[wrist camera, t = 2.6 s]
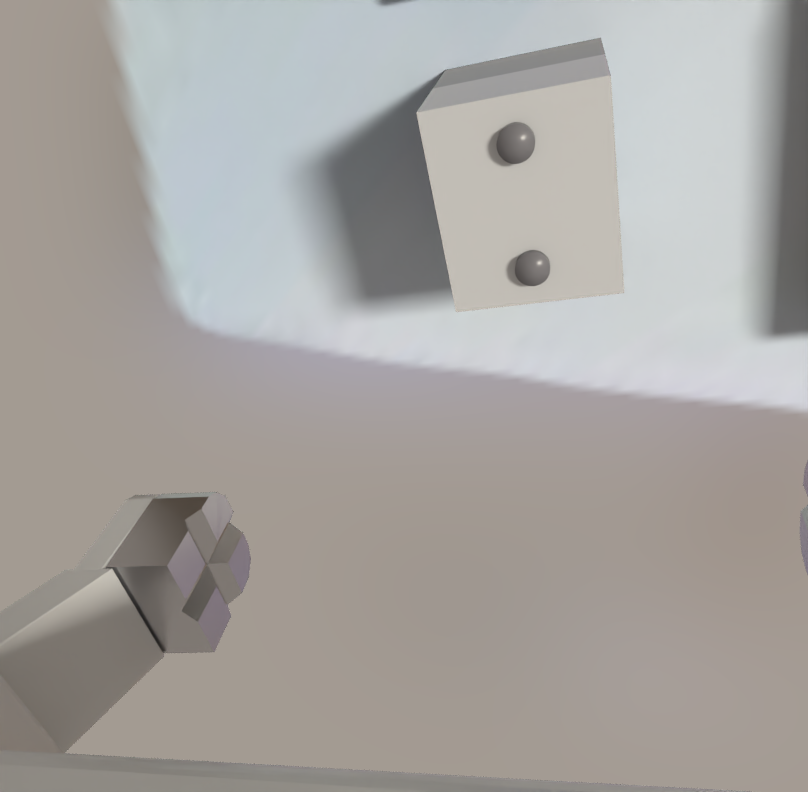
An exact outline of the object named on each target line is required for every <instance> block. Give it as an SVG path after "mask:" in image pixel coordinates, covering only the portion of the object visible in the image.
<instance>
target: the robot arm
mask: <svg viewBox="0 0 808 792" xmlns="http://www.w3.org/2000/svg"><path fill="white" fill-rule="evenodd" d="M803 486H804V488H805V490H806V493H807V495H808V462H807V464H806V467H805V472H804V481H803ZM232 514H233V510H232V508H231V506H230V504H229V502H228V500H227V498H226V496H225V495H222V494H220V493H217V492H209V493H174V494H161V495H135V496H133V497H131V498H128V499H126V500H125V501H124V503H123V504H122V505H121V507H120V508H119V510H118V511H117V512H116V513H115V515H114V516H113V518H112V519H111V520H110V521H109V523H108V524H107V525H106V527H105V528H104V529H103V531H102V532H101V534H100V535H99V536H98V538H97V539H96V540H95V542H94V543H93V544H92V546H91V547H90V548H89V550H88V551H87V552H86V554H85V555H84V556H83V558H82V559H81V561H80V562H79V563H78V565H77V566H76V567H75V568H74V570H64V571H63V572H61V573H60V574H58V575H56V576H55V577H53V578H52V579H50V580H49V581H47V582H46V583H44V584H43V585H41V586H39V587H38V588H37V589H35V590H33V591H32V592H30V593H29V594H27V595H26V596H24V597H23V598H21V599H19V600H18V601H16V602H15V603H13V604H12V605H10V606H9V607H7V608H6V609H4V610H2V611H1V612H0V792H750V791H732V790H713V789H695V788H675V787H658V786H638V785H621V784H602V783H583V782H566V781H548V780H529V779H510V778H492V777H475V776H457V775H440V774H422V773H404V772H387V771H369V770H352V769H334V768H316V767H299V766H281V765H262V764H245V763H244V764H243V763H226V762H209V761H190V760H173V759H156V758H136V757H120V756H101V755H84V754H83V755H82V754H66V753H65V752H66V751H67V750H68V749H69V748H70V747H71V746H72V745H73V744H74V743H75V742H76V741H77V740H78V739H79V738H80V737H81V736H82V735H83V734H85V732H87V731H88V730H89V729H90V728H91V727H92V726H93V725H94V724H95V723H96V722H97V721H98V720H99V719H100V718H101V717H102V716H103V715H104V714H105V713H106V712H107V711H108V710H109V709H110V708H111V707H112V706H113V705H114V704H115V703H117V701H119V700H120V699H121V698H122V697H123V696H124V695H125V694H126V693H127V692H128V691H129V690H130V689H131V688H132V687H133V686H134V685H135V684H136V683H137V682H138V681H139V680H140V679H141V678H142V677H143V676H144V675H145V674H146V673H147V672H149V671H150V670H151V669H152V668H153V667H154V666H155V664H157V663H158V662H159V661H160V660H161V659H162V658H163V657H164V654H163V653H197V652H215V649H216V647H217V645H218V643H219V641H220V638H221V637H222V635H223V632H224V630H225V628H226V626H227V624H228V622H229V619H230V618H231V614H230V611H229V608H228V604H229V603H230V602H231V601H233V600H234V599H235V598H236V597H237V596H239V595H240V594H241V593H242V592H243V589H244V587H245V585H246V582H247V580H248V578H249V570H250V561H251V557H250V552H249V546H248V543H247V541H246V538H245V536H244V534H243V532H241V531H240V530H239V529H237V528H236V527H235V526H233V525H232V524H231V523H229V522H230V520H231V517H232ZM800 516H801V517H800V540H801V550H802V556H803V560H804V564H805V568H806V571H807V574H808V505H807V506H806V507H805V508H804V509H803V510H802V511H801V515H800Z"/></svg>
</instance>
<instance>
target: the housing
mask: <svg viewBox="0 0 808 792" xmlns="http://www.w3.org/2000/svg"><path fill="white" fill-rule="evenodd" d="M416 114H417V119H418V124H419V129H420V134H421V139H422V144H423V149H424V154H425V159H426V164H427V169H428V174H429V179H430V184H431V189H432V194H433V199H434V204H435V209H436V214H437V219H438V224H439V229H440V234H441V239H442V244H443V249H444V254H445V259H446V264H447V269H448V274H449V279H450V284H451V289H452V294H453V299H454V304H455V309H456V312H462V311H470V310H479V309H488V308H497V307H505V306H514V305H523V304H532V303H540V302H549V301H558V300H567V299H575V298H584V297H593V296H602V295H610V294H619V293H624V282H623V266H622V249H621V233H620V217H619V201H618V185H617V169H616V153H615V137H614V121H613V104H612V88H611V74H610V71H609V67H608V63H607V60H606V56H605V52H604V48H603V45H602V41H601V38H597V39H592V40H587V41H582V42H577V43H573V44H568V45H563V46H558V47H553V48H548V49H544V50H539V51H534V52H529V53H524V54H519V55H515V56H510V57H505V58H500V59H495V60H490V61H486V62H481V63H476V64H471V65H466V66H461V67H457V68H452V69H447V70H445V71H444V73H443V74H442V76H441V77H440V79H439V80H438V82H437V83H436V85H435V86H434V87H433V89H432V90H431V92H430V93H429V95H428V96H427V98H426V99H425V101H424V102H423V103H422V105H421V106H420V108H419V109H418V111H417V112H416Z"/></svg>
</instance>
